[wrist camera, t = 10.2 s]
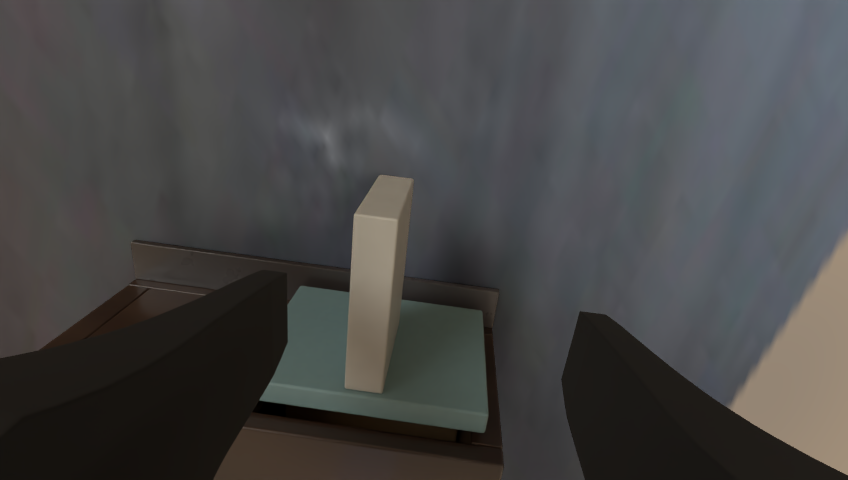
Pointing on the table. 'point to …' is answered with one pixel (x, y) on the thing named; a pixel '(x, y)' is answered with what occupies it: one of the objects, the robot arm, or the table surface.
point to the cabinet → (299, 426)
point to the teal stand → (383, 335)
